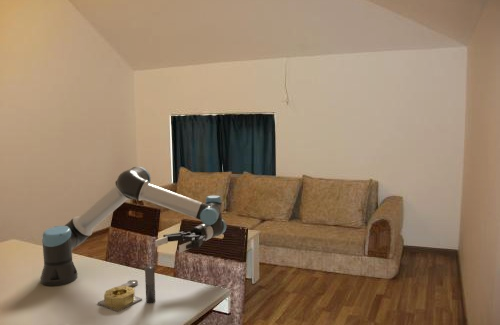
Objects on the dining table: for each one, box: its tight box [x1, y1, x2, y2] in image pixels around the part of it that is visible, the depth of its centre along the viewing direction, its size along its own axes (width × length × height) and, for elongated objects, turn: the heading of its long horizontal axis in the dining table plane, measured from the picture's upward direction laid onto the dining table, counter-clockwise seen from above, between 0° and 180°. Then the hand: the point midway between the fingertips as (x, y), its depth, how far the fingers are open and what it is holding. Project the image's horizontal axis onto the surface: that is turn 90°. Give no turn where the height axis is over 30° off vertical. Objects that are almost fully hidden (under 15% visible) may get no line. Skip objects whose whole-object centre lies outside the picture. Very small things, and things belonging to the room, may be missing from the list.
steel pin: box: [144, 265, 156, 305], centre depth 160 cm, size 4×4×14 cm
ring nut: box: [97, 285, 143, 313], centre depth 160 cm, size 12×12×4 cm
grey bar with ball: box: [117, 279, 139, 288], centre depth 173 cm, size 14×4×1 cm, turn 147°
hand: (167, 246), depth 166 cm, fingers open, 13 cm apart
